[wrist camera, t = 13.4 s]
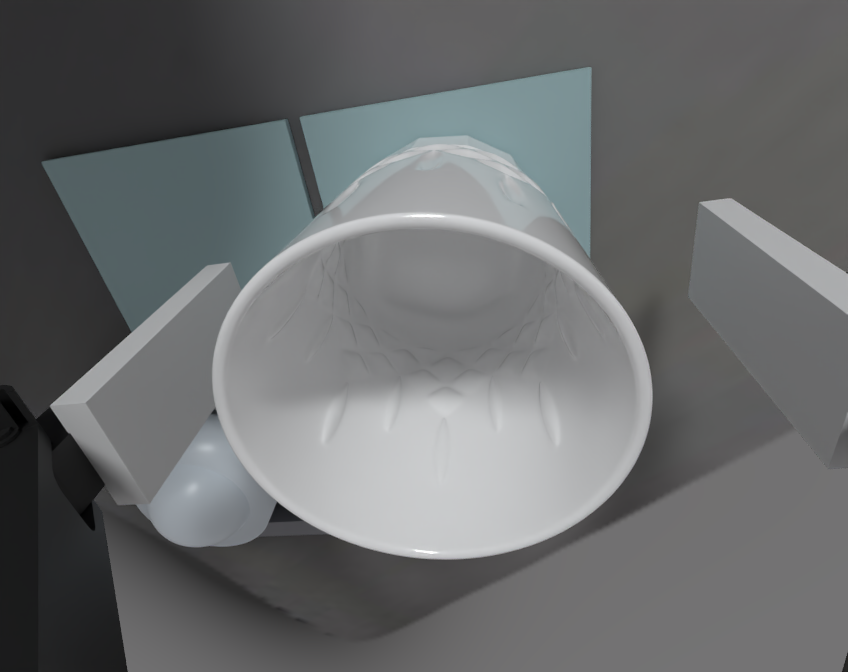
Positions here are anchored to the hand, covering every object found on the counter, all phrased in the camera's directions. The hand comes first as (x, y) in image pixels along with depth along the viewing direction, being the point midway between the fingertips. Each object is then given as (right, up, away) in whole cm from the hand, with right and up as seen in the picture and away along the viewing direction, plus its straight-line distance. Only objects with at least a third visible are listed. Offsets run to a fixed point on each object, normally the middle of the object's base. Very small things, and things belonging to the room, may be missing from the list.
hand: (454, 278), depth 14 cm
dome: (-10, -7, +9) cm, 15 cm away
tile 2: (0, +2, +3) cm, 4 cm away
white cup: (0, +2, +3) cm, 4 cm away
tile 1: (-9, +1, +5) cm, 10 cm away
